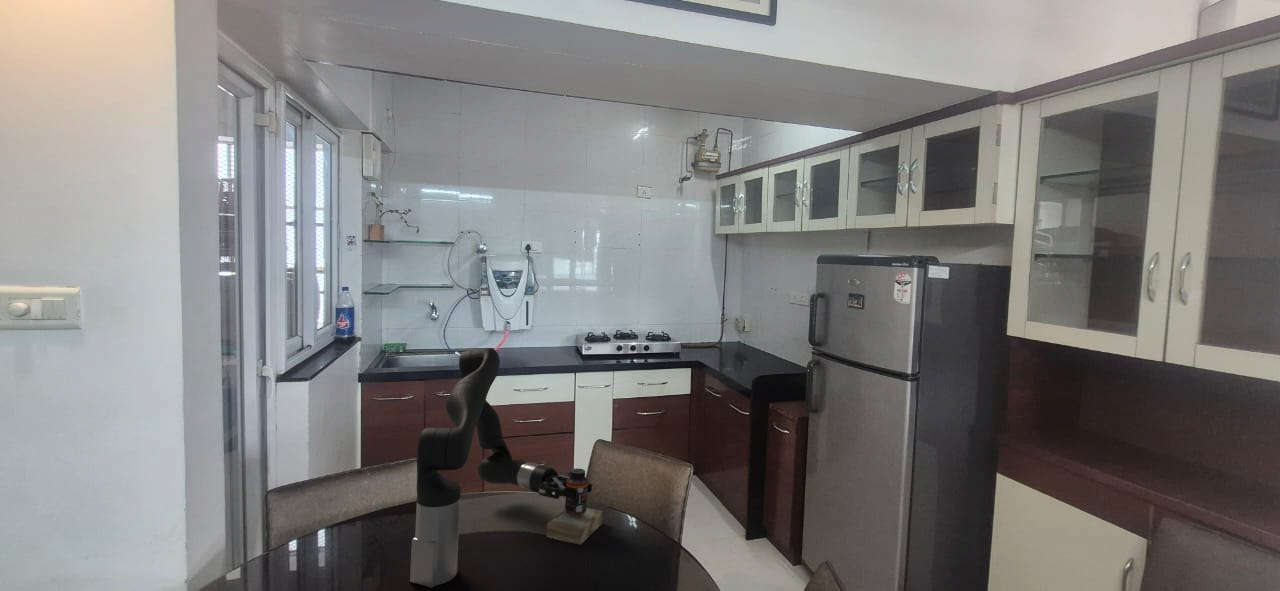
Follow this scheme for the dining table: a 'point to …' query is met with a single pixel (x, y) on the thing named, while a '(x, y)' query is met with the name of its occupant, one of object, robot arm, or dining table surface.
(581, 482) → the supplement bottle
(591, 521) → the beige flat block
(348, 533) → the dining table surface
